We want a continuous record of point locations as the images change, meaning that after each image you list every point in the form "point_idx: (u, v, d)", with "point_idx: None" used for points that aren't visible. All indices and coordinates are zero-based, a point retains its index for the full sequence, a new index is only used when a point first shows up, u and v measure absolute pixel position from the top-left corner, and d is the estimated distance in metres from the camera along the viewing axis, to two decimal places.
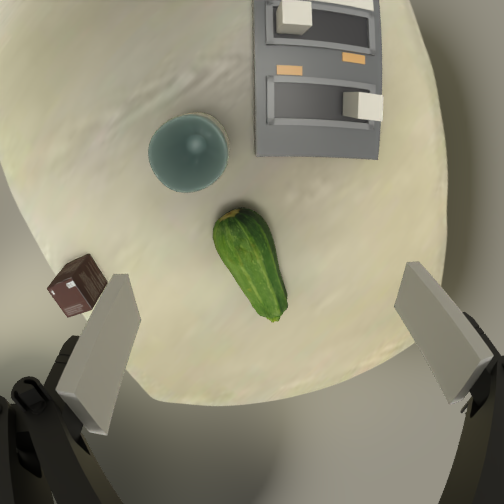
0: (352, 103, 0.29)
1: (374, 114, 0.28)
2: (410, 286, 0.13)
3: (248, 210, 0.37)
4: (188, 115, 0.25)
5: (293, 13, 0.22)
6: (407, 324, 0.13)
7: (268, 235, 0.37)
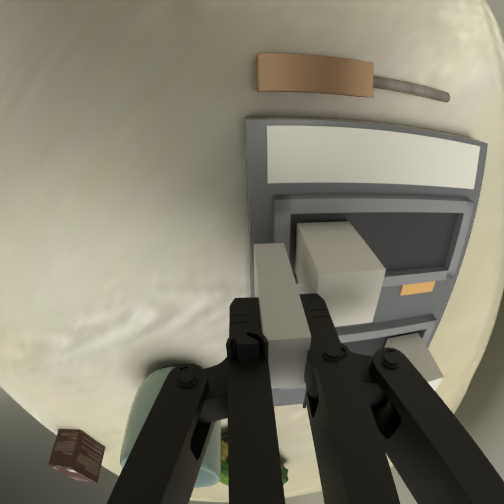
0: None
1: None
2: None
3: None
4: None
5: (339, 305, 0.13)
6: None
7: None
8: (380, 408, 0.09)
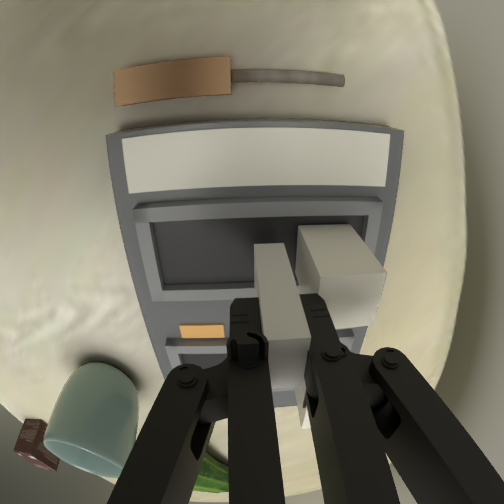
0: (300, 399, 0.19)
1: None
2: None
3: None
4: (66, 441, 0.15)
5: (340, 308, 0.13)
6: None
7: None
8: (380, 408, 0.09)
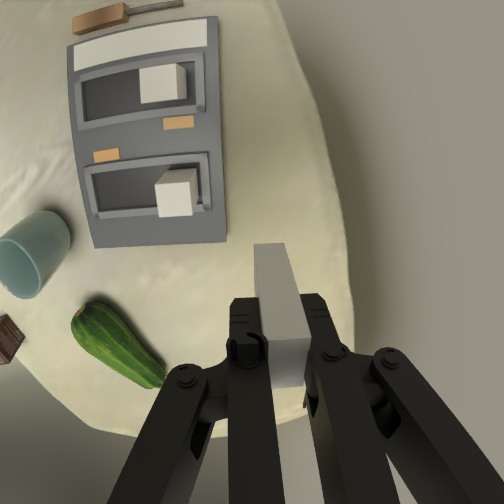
0: None
1: (180, 208, 0.25)
2: None
3: (91, 307, 0.35)
4: (5, 238, 0.22)
5: (153, 86, 0.20)
6: None
7: (112, 329, 0.35)
8: (380, 408, 0.09)
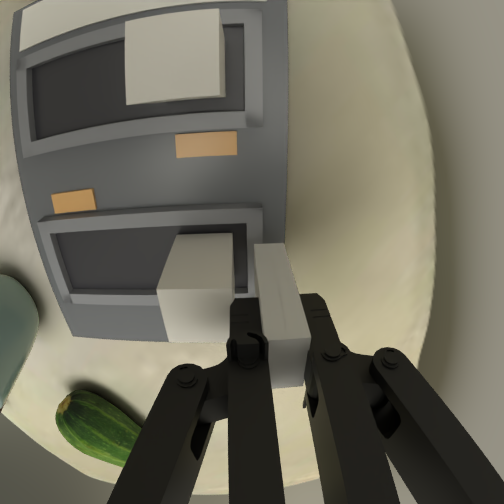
0: None
1: (210, 331, 0.13)
2: None
3: (78, 404, 0.23)
4: None
5: (158, 62, 0.07)
6: None
7: (108, 431, 0.23)
8: (380, 408, 0.09)
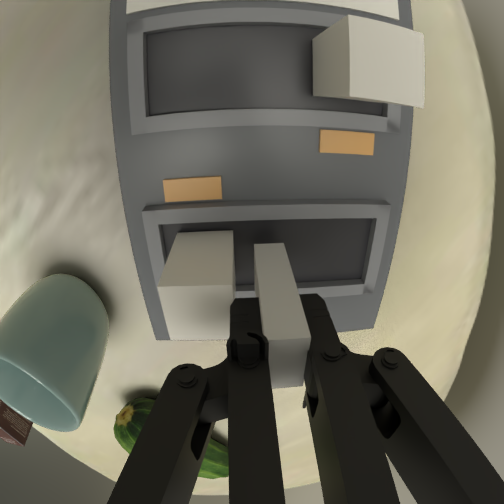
0: None
1: (211, 328, 0.13)
2: None
3: (143, 414, 0.23)
4: None
5: (380, 64, 0.08)
6: None
7: None
8: (380, 408, 0.09)
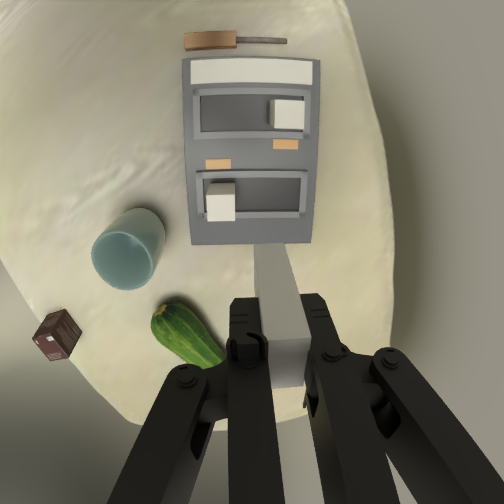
0: None
1: (225, 215, 0.32)
2: None
3: (173, 306, 0.43)
4: (117, 231, 0.30)
5: (285, 116, 0.28)
6: None
7: (193, 325, 0.43)
8: (380, 408, 0.09)
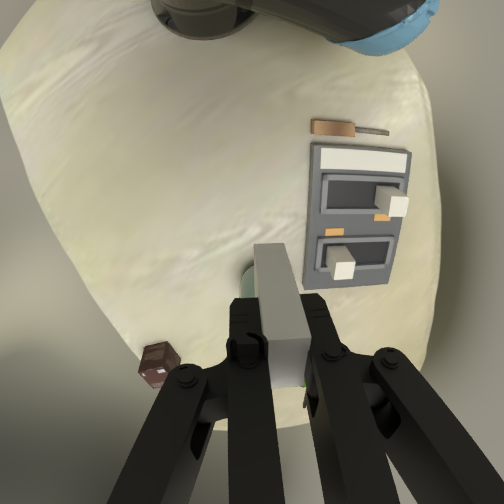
0: (332, 264, 0.44)
1: (346, 275, 0.43)
2: None
3: None
4: None
5: (396, 208, 0.38)
6: None
7: None
8: (380, 408, 0.09)
